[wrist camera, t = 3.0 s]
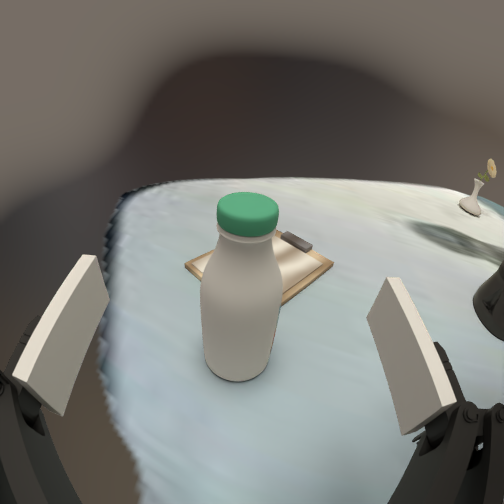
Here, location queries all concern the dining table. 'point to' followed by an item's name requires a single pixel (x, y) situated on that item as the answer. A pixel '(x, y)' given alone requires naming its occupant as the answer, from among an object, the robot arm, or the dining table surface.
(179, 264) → the dining table surface
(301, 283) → the clipboard
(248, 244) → the milk bottle
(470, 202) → the flower in vase
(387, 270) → the dining table surface
